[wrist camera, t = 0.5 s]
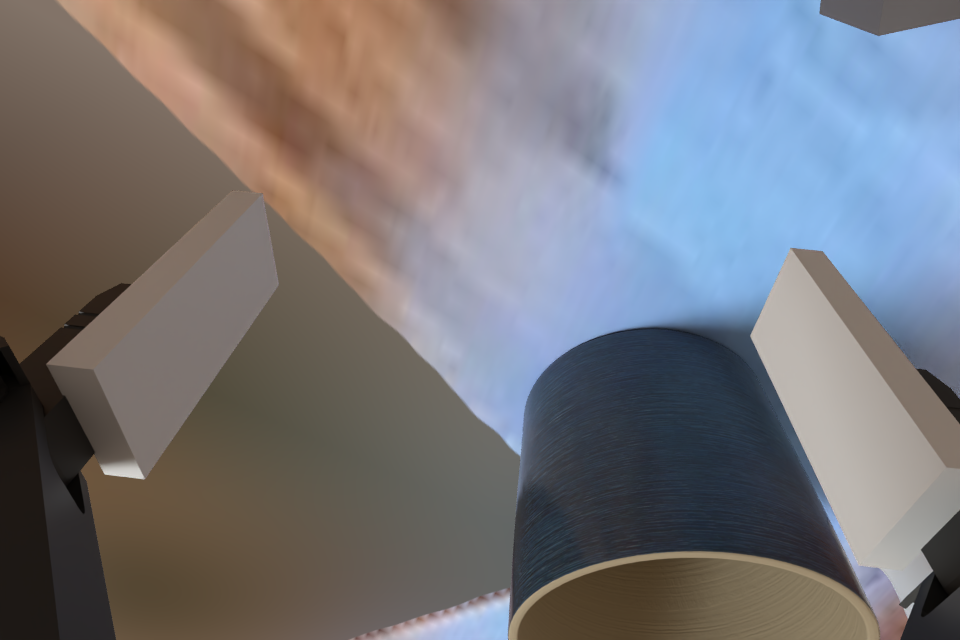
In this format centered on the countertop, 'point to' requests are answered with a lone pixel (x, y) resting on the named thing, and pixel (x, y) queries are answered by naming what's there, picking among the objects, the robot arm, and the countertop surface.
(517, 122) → the countertop surface
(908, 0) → the trapdoor
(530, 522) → the planter
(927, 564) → the bottle
